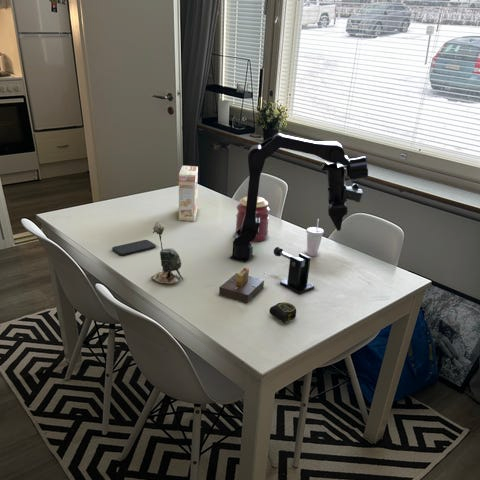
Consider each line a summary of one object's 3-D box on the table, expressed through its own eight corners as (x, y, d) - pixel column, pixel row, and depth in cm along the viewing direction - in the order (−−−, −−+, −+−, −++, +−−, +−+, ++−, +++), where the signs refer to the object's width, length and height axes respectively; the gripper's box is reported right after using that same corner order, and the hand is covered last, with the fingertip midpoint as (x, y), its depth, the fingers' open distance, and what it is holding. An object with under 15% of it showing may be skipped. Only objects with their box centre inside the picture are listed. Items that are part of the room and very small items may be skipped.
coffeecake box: (194, 221, 216) (195, 175, 206) (178, 220, 216) (177, 174, 206) (197, 209, 229) (198, 166, 219) (182, 208, 229) (181, 165, 219)
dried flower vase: (170, 290, 161) (169, 230, 151) (147, 278, 168) (145, 220, 158) (189, 282, 167) (189, 224, 156) (166, 271, 173) (165, 214, 163)
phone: (157, 245, 189) (121, 254, 181) (157, 247, 190) (121, 256, 181) (146, 239, 194) (110, 247, 185) (146, 241, 194) (111, 249, 186)
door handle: (271, 255, 171) (272, 246, 169) (278, 253, 173) (278, 244, 171) (299, 269, 163) (300, 260, 161) (305, 266, 165) (307, 257, 163)
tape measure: (267, 315, 151) (268, 304, 149) (285, 310, 154) (286, 299, 153) (281, 326, 146) (283, 315, 144) (300, 320, 150) (301, 309, 148)
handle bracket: (279, 284, 169) (283, 254, 164) (294, 279, 173) (298, 249, 168) (299, 295, 164) (303, 264, 158) (314, 289, 168) (318, 259, 162)
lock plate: (247, 303, 157) (248, 294, 155) (219, 295, 160) (219, 286, 159) (263, 288, 166) (264, 279, 165) (236, 280, 170) (236, 272, 168)
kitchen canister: (230, 238, 202) (232, 194, 193) (242, 228, 212) (244, 186, 203) (260, 244, 198) (264, 200, 189) (271, 234, 208) (275, 191, 199)
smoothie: (319, 258, 190) (325, 222, 182) (302, 256, 191) (307, 220, 183) (320, 251, 195) (326, 216, 188) (304, 249, 196) (308, 214, 189)
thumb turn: (240, 287, 159) (241, 275, 157) (236, 286, 160) (236, 273, 158) (248, 280, 164) (249, 268, 161) (243, 279, 164) (244, 267, 162)
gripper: (362, 187, 161) (364, 233, 169) (359, 171, 177) (360, 214, 184) (326, 191, 163) (330, 236, 171) (326, 175, 179) (329, 217, 186)
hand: (338, 225), depth 178 cm, fingers open, 9 cm apart
